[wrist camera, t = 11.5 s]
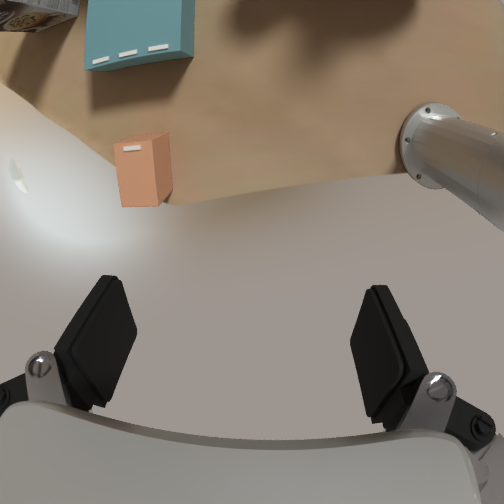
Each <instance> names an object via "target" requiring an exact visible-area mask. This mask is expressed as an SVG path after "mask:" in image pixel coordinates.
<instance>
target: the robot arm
mask: <svg viewBox="0 0 504 504" xmlns="http://www.w3.org/2000/svg"><path fill="white" fill-rule="evenodd" d="M425 109H426V111H425ZM405 138H406V140H405ZM400 155H401V159H402V162H403V165H404V167H405V169H406V171H407V172H408V174H409V175H410V176H411V177H412V178H413V179H414V180H415V181H416V182H417V183H419V184H421V185H422V186H424V187H427V188H430V189H442V188H446V189H447V190H448V191H450V192H451V193H453V194H454V195H455V196H457V197H458V198H459V199H461V200H462V201H464V202H465V203H466V204H468V205H469V206H470V207H472V208H473V209H474V210H475V211H477V212H478V213H479V214H481V215H482V216H483V217H484V218H486V219H487V220H488V221H489V222H491V223H492V224H493V225H494V226H496V227H497V228H498V229H500V230H502V231H504V133H503V132H500V131H498V130H495V129H492V128H488V127H485V126H482V125H479V124H475V123H472V122H468V121H465V120H462V118H461V117H460V116H459V114H458V113H457V112H456V111H454V110H453V109H452V108H450V107H448V106H446V105H444V104H439V103H427V104H423V105H421V106H419V107H417V108H416V109H414V110H413V111H412V112H411V113H410V115H409V116H408V117H407V119H406V120H405V122H404V124H403V127H402V130H401V134H400ZM136 335H137V328H136V325H135V322H134V319H133V316H132V313H131V310H130V307H129V304H128V301H127V297H126V294H125V291H124V288H123V284H122V281H121V280H119V279H118V278H117V276H110V275H103V276H101V278H100V279H99V280H98V282H97V283H96V285H95V286H94V287H93V289H92V290H91V292H90V293H89V295H88V296H87V297H86V299H85V300H84V302H83V303H82V305H81V307H80V308H79V309H78V311H77V312H76V314H75V315H74V317H73V319H72V320H71V322H70V323H69V325H68V326H67V328H66V329H65V331H64V333H63V334H62V336H61V337H60V339H59V341H58V342H57V344H56V346H55V347H54V349H55V352H54V354H52V353H51V352H48V351H41V352H37V353H36V354H34V355H33V356H31V357H30V359H29V360H28V361H27V363H26V366H25V373H24V374H22V375H19V376H17V377H15V378H13V379H11V380H9V381H7V382H4V383H2V384H0V504H504V438H503V437H502V435H501V434H498V435H496V434H495V432H496V428H495V423H494V421H493V419H492V418H491V417H490V415H488V414H487V413H485V412H483V411H482V410H480V409H478V408H476V407H474V406H473V405H471V404H469V403H467V402H466V401H464V400H462V399H460V398H459V397H457V396H456V393H457V390H456V385H455V384H454V382H453V380H452V379H451V378H450V377H449V376H447V375H446V374H444V373H441V372H432V373H429V371H428V369H427V366H426V364H425V361H424V359H423V357H422V354H421V352H420V350H419V347H418V345H417V343H416V341H415V339H414V336H413V334H412V332H411V330H410V327H409V325H408V323H407V322H406V320H405V319H404V318H403V316H402V314H401V312H400V310H399V308H398V306H397V304H396V302H395V300H394V298H393V296H392V294H391V292H390V290H389V288H388V286H386V285H373V286H371V288H370V289H367V290H366V293H365V296H364V299H363V303H362V306H361V309H360V312H359V315H358V318H357V321H356V324H355V327H354V330H353V333H352V336H351V339H350V346H351V350H352V354H353V358H354V362H355V366H356V370H357V374H358V379H359V383H360V387H361V392H362V396H363V401H364V406H365V410H366V415H367V416H368V417H371V421H372V424H374V423H381V422H382V423H383V427H384V428H385V429H384V431H383V432H380V433H373V434H366V435H358V436H348V437H337V438H325V439H310V440H309V439H308V440H247V439H230V438H218V437H207V436H199V435H191V434H184V433H178V432H171V431H165V430H160V429H154V428H149V427H144V426H140V425H135V424H131V423H127V422H122V421H119V420H115V419H111V418H107V417H103V416H100V415H96V414H93V413H92V410H91V409H92V406H93V404H94V405H96V406H100V407H103V408H105V406H106V403H107V402H109V401H110V400H111V398H112V396H113V393H114V390H115V388H116V385H117V383H118V380H119V377H120V375H121V372H122V370H123V367H124V365H125V363H126V360H127V357H128V355H129V353H130V350H131V348H132V345H133V343H134V341H135V339H136Z"/></svg>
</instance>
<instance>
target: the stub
mask: <svg viewBox="0 0 504 504" xmlns="http://www.w3.org/2000/svg"><path fill="white" fill-rule="evenodd" d="M113 145H114V154H115V163H116V171H117V178H118V185H119V191H120V198H121V204H122V207H144V206H145V207H147V206H159V205H160V204H161V203H162V202H163V200H164V199H165V198H166V197H167V196H168V195H169V194H170V192H171V191H172V190H173V187H172V175H171V162H170V148H169V133H156V134H146V135H136V136H132V137H130V138H127V139H125V140H122V141H120V142H117V143H115V144H113Z"/></svg>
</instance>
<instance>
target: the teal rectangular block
mask: <svg viewBox="0 0 504 504" xmlns="http://www.w3.org/2000/svg"><path fill="white" fill-rule="evenodd" d="M194 17H195V0H88V9H87V21H86V36H85V70H90V71H112V70H116V69H120V68H125V67H130V66H135V65H140V64H146V63H152V62H158V61H165V60H172V59H180V58H190V57H194Z"/></svg>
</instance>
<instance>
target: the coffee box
mask: <svg viewBox="0 0 504 504" xmlns="http://www.w3.org/2000/svg"><path fill="white" fill-rule="evenodd" d="M79 6H80V0H0V31H7V32H33V33H38V32H40V31H42V30H45V29H47V28H49V27H52V26H54V25H56V24H59V23H61V22H64V21H67V20H69V19H72V18H75V17H77V16H78V12H79Z"/></svg>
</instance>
